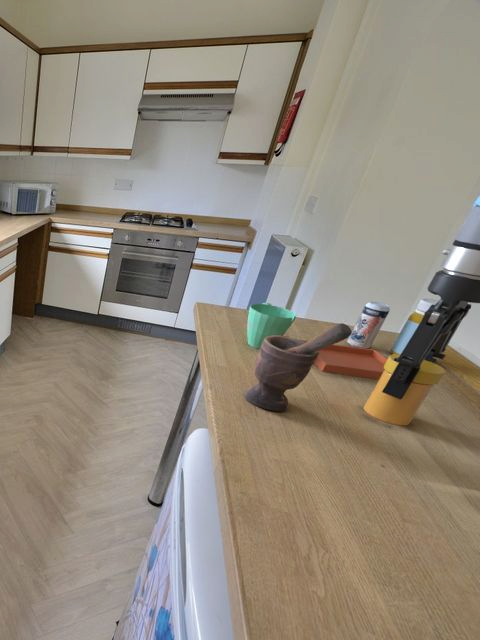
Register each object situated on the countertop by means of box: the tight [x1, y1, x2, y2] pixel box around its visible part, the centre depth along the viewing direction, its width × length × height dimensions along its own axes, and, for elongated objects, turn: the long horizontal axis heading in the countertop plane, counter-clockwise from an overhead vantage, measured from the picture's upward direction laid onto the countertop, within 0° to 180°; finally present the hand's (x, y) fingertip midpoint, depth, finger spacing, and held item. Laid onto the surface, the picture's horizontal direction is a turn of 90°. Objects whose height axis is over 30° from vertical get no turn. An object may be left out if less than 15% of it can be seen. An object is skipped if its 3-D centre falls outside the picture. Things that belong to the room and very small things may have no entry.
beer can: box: [347, 301, 391, 349], centre depth 108 cm, size 5×5×12 cm
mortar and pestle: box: [244, 322, 353, 413], centre depth 77 cm, size 12×9×20 cm
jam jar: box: [363, 370, 435, 426], centre depth 78 cm, size 7×7×11 cm
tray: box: [299, 339, 389, 381], centre depth 100 cm, size 17×14×2 cm
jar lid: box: [384, 354, 446, 386], centre depth 76 cm, size 8×8×2 cm
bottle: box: [390, 298, 440, 355], centre depth 102 cm, size 7×7×15 cm
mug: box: [246, 302, 297, 350], centre depth 108 cm, size 15×10×10 cm
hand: (400, 390), depth 78 cm, fingers closed on jar lid, 7 cm apart
